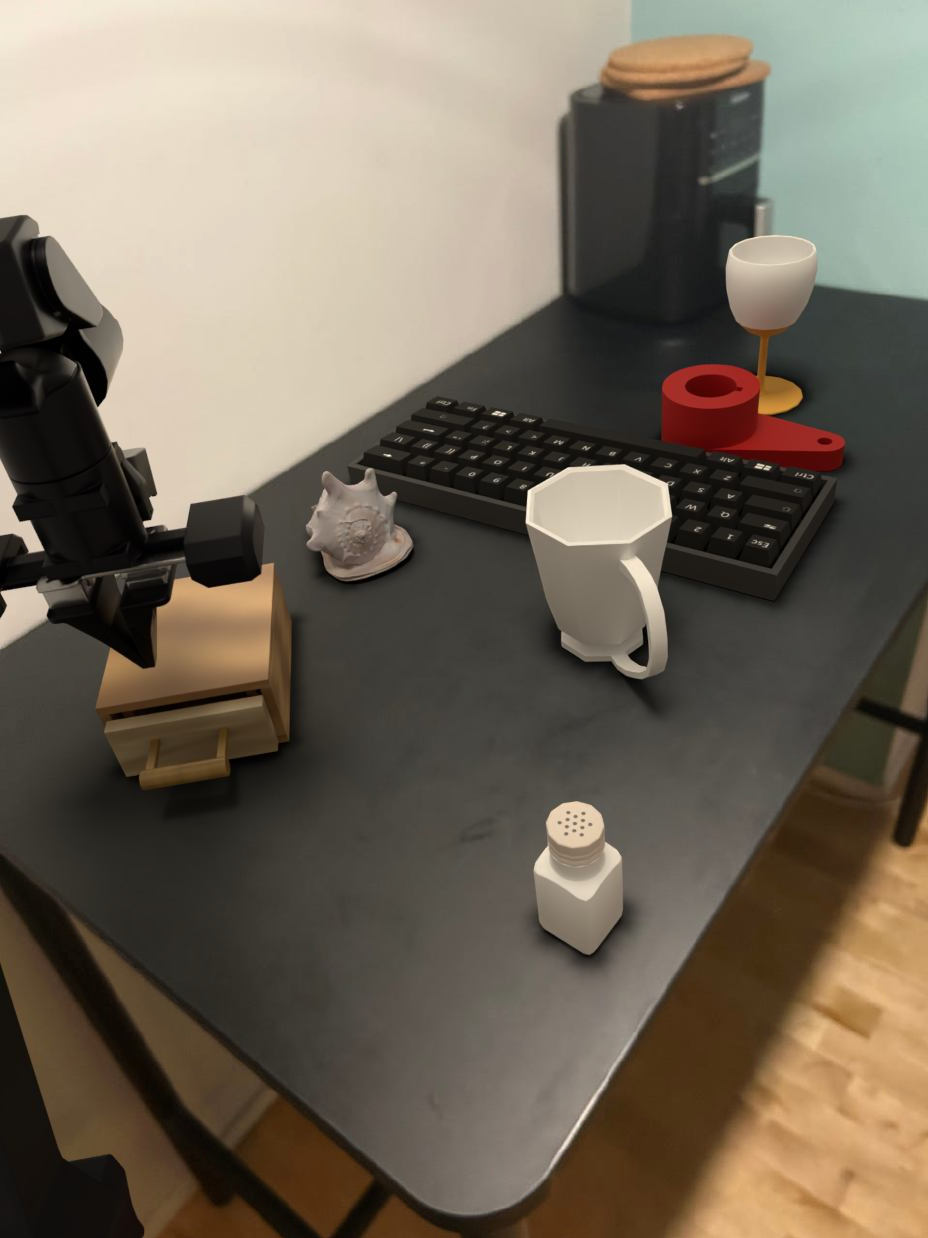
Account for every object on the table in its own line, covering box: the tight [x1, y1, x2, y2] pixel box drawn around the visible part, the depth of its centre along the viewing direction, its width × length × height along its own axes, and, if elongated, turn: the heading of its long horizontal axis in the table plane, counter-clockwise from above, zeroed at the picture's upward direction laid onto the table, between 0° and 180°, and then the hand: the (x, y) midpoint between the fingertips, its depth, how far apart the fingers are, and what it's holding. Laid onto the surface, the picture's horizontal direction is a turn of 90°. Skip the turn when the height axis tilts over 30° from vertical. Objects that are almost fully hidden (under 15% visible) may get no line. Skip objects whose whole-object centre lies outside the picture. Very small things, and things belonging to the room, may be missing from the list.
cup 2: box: [725, 234, 818, 416], centre depth 101 cm, size 9×9×16 cm
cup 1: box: [526, 464, 672, 680], centre depth 73 cm, size 11×16×13 cm
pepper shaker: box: [533, 800, 624, 956], centre depth 56 cm, size 4×4×10 cm
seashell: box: [305, 468, 414, 582], centre depth 90 cm, size 10×12×9 cm
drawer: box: [103, 689, 279, 791], centre depth 74 cm, size 18×11×5 cm, turn 7°
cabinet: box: [94, 562, 293, 744], centre depth 77 cm, size 15×13×7 cm
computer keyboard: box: [346, 395, 838, 602], centre depth 94 cm, size 45×16×4 cm, turn 57°
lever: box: [660, 363, 846, 472], centre depth 96 cm, size 18×9×7 cm, turn 62°
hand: (150, 663), depth 63 cm, fingers closed
